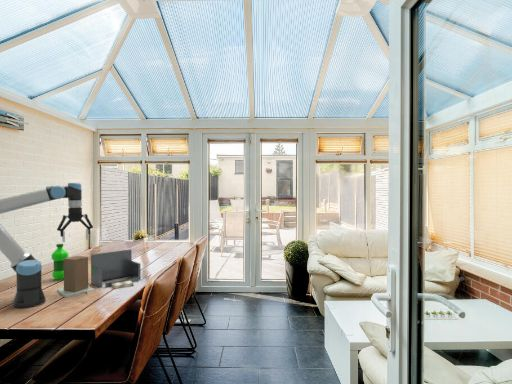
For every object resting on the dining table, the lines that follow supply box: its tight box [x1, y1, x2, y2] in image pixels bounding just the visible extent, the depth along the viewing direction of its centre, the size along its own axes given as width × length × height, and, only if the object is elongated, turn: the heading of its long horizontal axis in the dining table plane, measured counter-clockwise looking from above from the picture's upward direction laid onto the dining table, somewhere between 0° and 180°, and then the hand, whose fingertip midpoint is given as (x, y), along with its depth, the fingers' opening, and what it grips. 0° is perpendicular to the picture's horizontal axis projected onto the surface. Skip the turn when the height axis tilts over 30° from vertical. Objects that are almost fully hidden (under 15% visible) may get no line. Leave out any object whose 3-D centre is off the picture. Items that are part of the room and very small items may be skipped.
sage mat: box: [56, 284, 96, 298], centre depth 212 cm, size 17×18×1 cm
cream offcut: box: [111, 281, 134, 290], centre depth 219 cm, size 12×7×2 cm, turn 126°
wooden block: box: [63, 255, 89, 292], centre depth 212 cm, size 10×10×20 cm
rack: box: [90, 248, 142, 288], centre depth 230 cm, size 28×19×20 cm
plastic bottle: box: [51, 243, 69, 281], centre depth 241 cm, size 10×10×25 cm
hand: (75, 240), depth 213 cm, fingers open, 13 cm apart
